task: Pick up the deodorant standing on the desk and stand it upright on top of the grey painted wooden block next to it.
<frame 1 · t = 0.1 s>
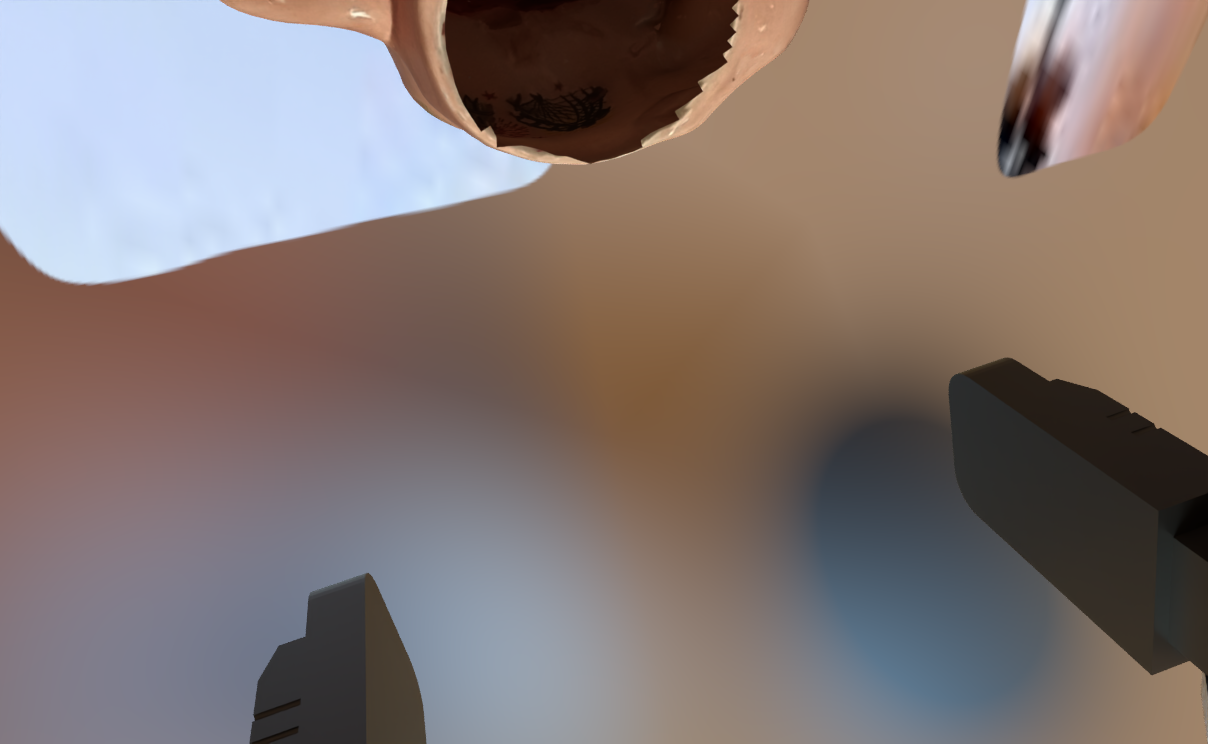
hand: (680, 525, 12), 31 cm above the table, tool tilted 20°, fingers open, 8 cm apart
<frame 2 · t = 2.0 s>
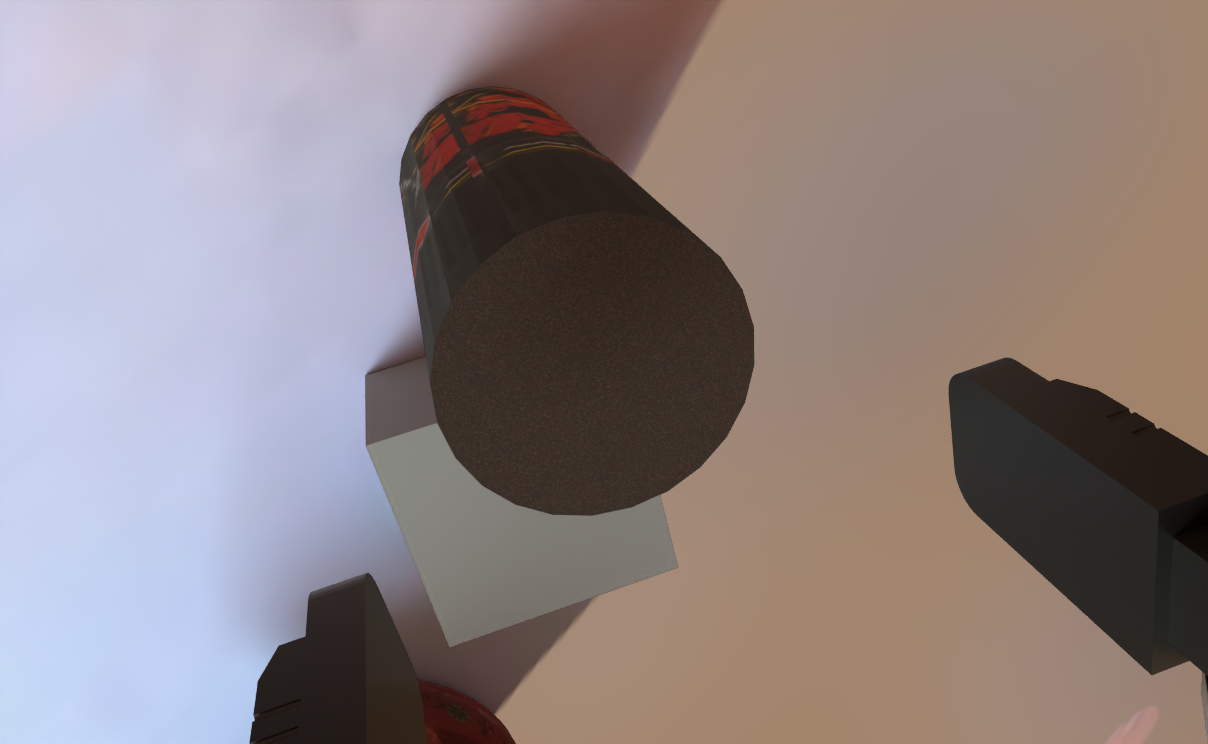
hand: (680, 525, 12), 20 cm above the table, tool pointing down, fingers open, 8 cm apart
grey block: (511, 436, 34), on the table
deodorant: (493, 181, 30), on the table
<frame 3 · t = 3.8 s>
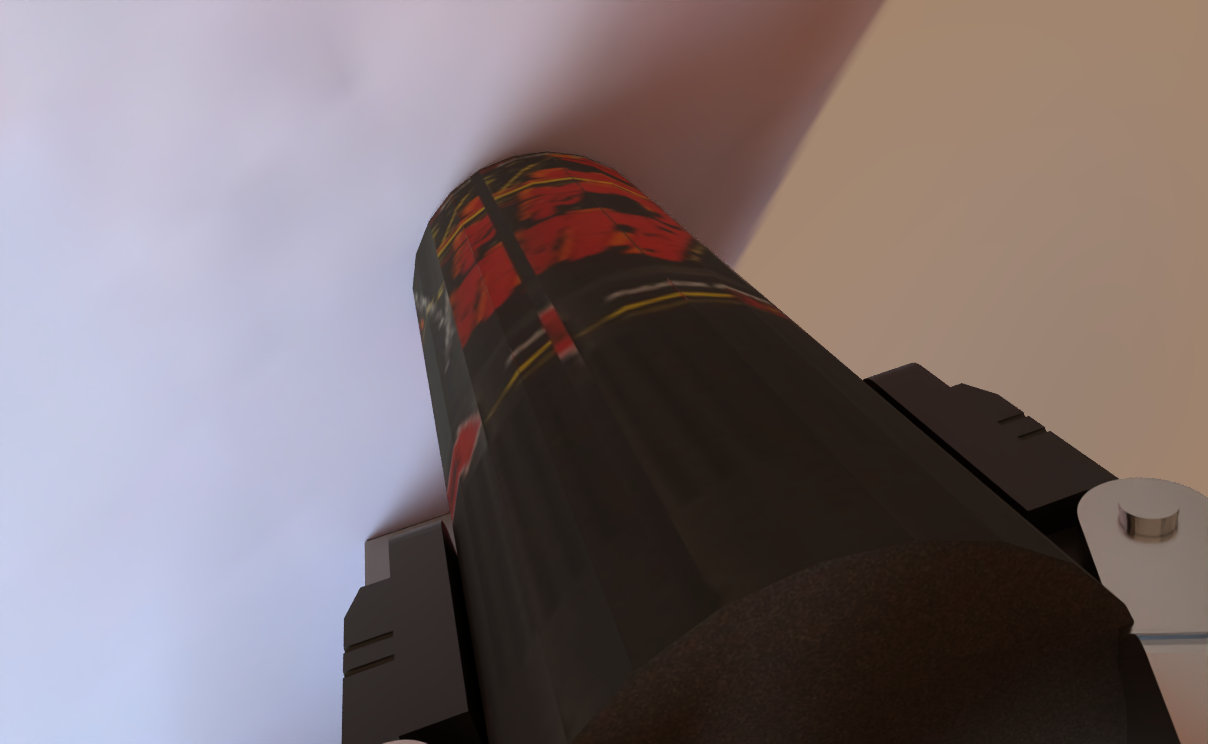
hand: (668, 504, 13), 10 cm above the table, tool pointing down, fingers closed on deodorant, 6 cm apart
grey block: (561, 610, 25), on the table
deodorant: (543, 280, 22), on the table, touching gripper
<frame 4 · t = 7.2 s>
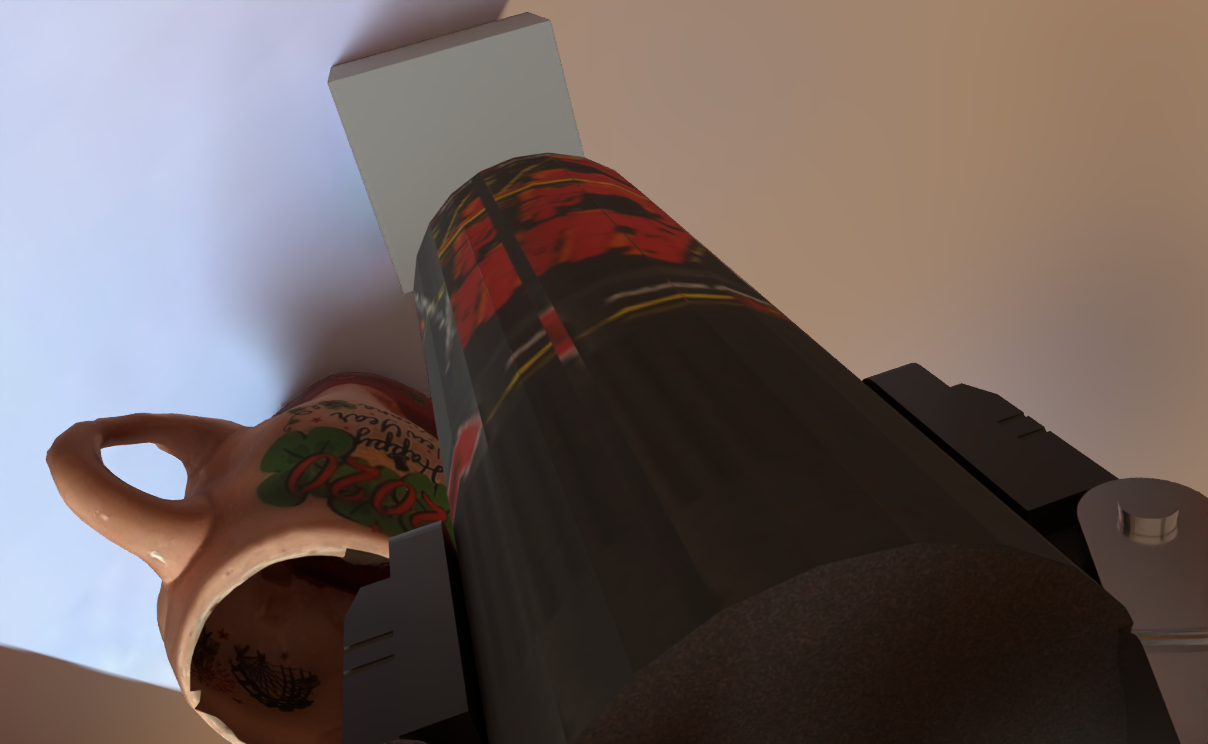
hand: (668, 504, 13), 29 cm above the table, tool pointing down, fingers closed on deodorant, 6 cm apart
decorated ceramic mug: (330, 451, 43), on the table
grey block: (460, 138, 39), on the table
deodorant: (544, 281, 22), point 19 cm above the table, touching gripper
when the fingers open (16 cm above the table, at t = 10.5 s): deodorant drops 1 cm, resting on grey block.
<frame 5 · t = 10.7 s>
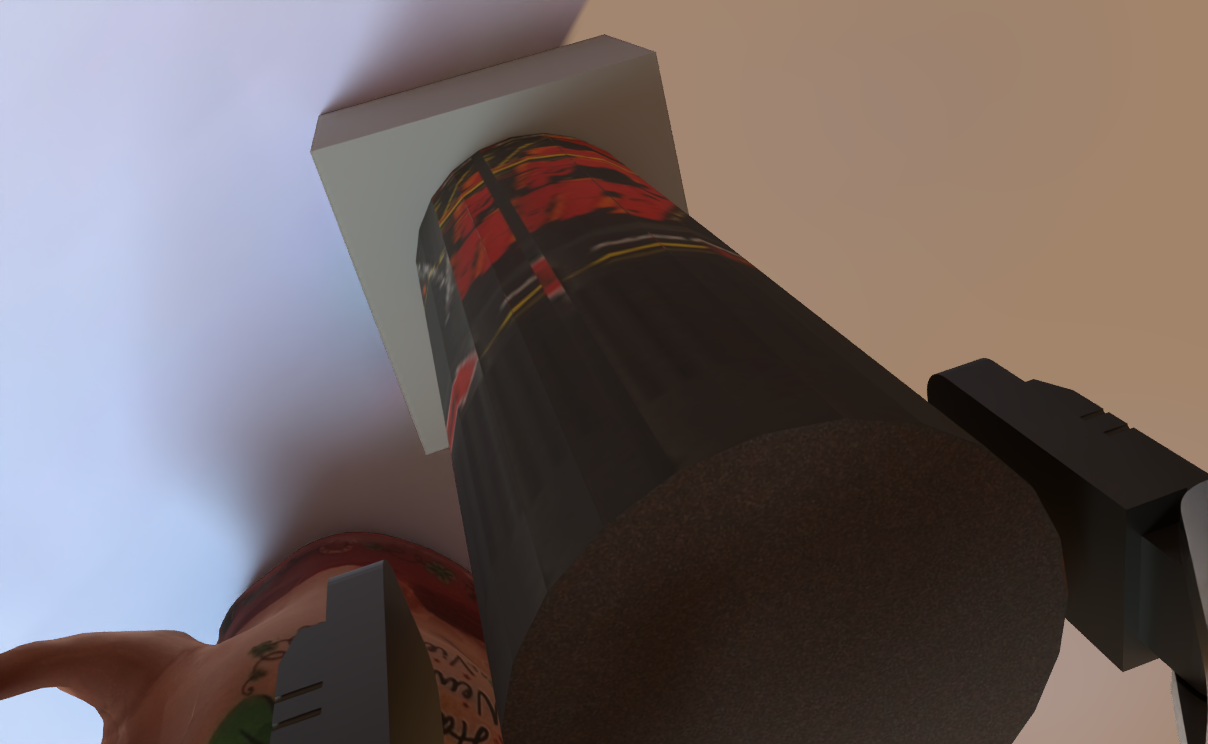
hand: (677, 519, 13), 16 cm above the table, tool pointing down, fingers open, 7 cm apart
decorated ceramic mug: (319, 631, 32), on the table
grey block: (505, 213, 27), on the table
deodorant: (539, 256, 23), point 5 cm above the table, touching grey block
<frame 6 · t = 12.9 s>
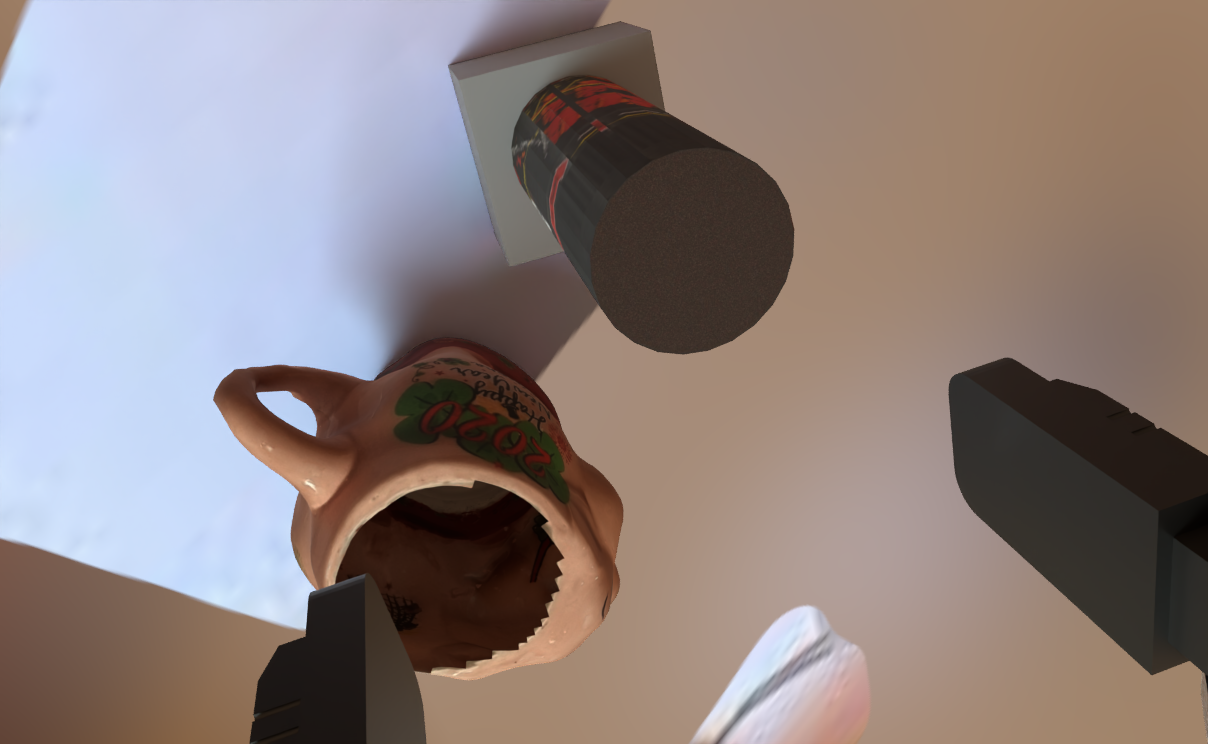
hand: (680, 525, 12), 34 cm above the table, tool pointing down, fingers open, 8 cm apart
decorated ceramic mug: (423, 409, 48), on the table
grey block: (555, 131, 44), on the table
deodorant: (580, 147, 40), point 5 cm above the table, touching grey block
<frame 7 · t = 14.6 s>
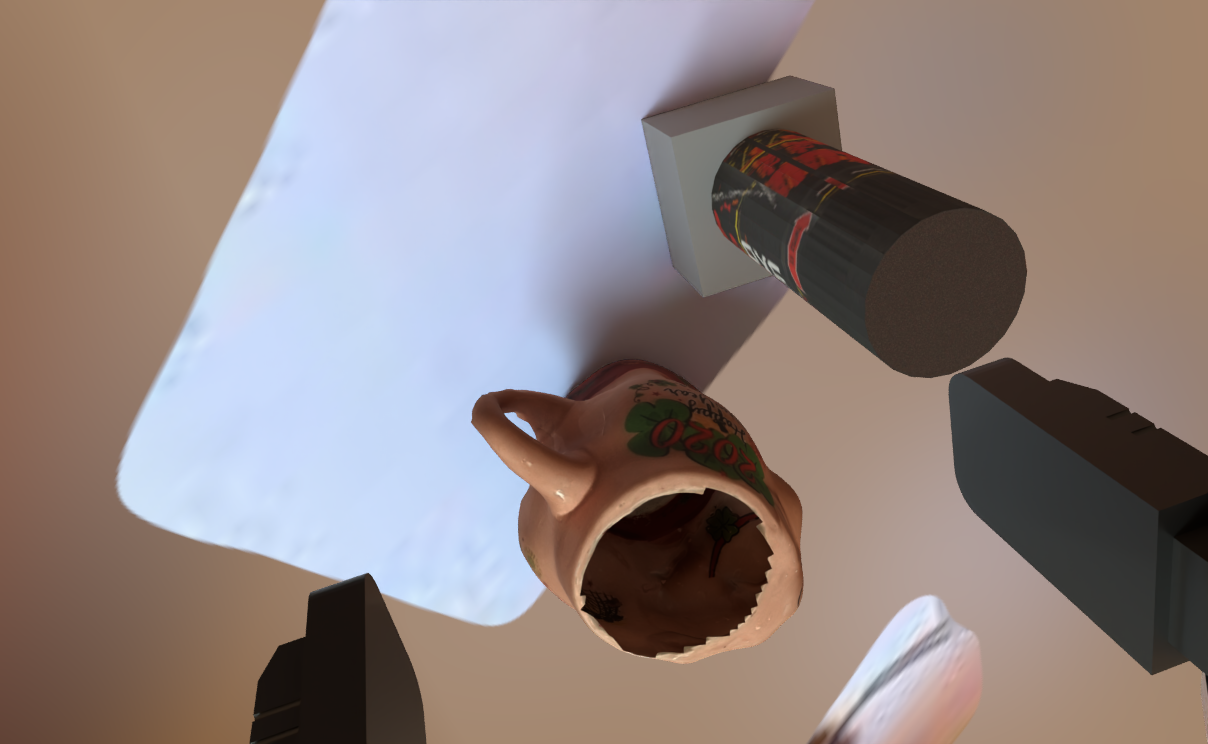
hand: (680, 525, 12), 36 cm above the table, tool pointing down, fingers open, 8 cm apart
decorated ceramic mug: (601, 423, 54), on the table
grey block: (729, 173, 49), on the table
deodorant: (769, 191, 45), point 5 cm above the table, touching grey block
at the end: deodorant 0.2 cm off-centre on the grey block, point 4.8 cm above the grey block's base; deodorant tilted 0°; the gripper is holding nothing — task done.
